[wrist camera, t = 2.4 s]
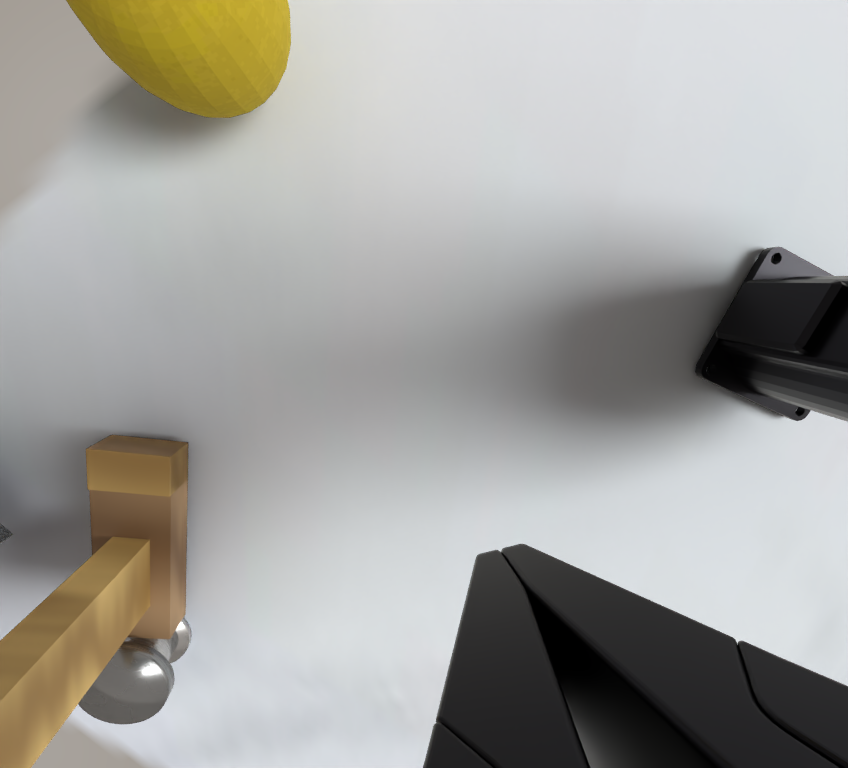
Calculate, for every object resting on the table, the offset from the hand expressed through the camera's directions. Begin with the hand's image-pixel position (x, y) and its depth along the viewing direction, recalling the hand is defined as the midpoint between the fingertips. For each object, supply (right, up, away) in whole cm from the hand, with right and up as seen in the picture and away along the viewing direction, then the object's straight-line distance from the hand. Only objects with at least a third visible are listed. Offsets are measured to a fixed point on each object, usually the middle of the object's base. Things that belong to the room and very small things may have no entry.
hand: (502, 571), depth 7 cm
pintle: (-15, -10, +14) cm, 23 cm away
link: (-14, -4, +12) cm, 19 cm away
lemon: (-8, +15, +9) cm, 20 cm away
